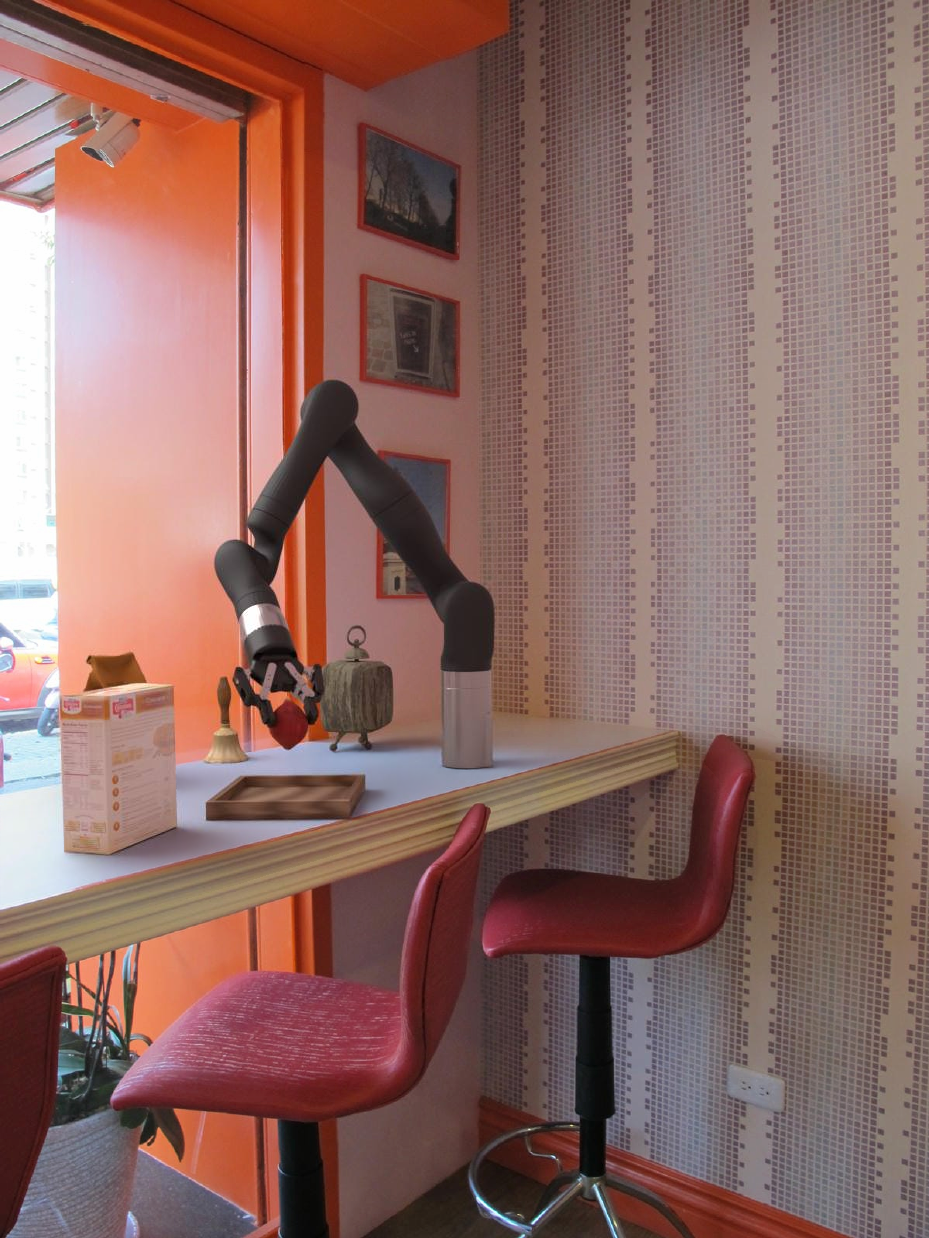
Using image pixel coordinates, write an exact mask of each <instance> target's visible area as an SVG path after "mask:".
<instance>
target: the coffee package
mask: <svg viewBox="0 0 929 1238" xmlns="http://www.w3.org/2000/svg"><path fill="white" fill-rule="evenodd" d="M85 663H86V664H87V665H90V667H91V669H92V670H91V671H90V672H89V673H88V677H87V679H86V680H87V681H86V683H85V687H84V688H83V691H82V692H86V691H92V690H98V689H104V688H111V687H117V686H123V685H129V684H136V683H147V684H148V682H147V680H146V677H145V674H144V673H143V671H142V669H141V665H140V664H139V662H138V660H137V658H136V656H135V654H134V652H133V651H130V650H129V651H126V652H124V653H121V654H119V655H106V654H104V655H102V654H96V655H95V654H88V656H87V658H86V660H85Z"/></svg>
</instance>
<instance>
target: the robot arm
mask: <svg viewBox="0 0 929 1238" xmlns="http://www.w3.org/2000/svg"><path fill="white" fill-rule="evenodd" d="M359 405H360V404H359V399H358V395H357V394H356V392H355V391H354V389H353V388H352V387H351V386H350V385H349V384H348V383H346V382H344V381H342V380H339V379H327V380H324V381H320V382H319V383H318V384H316V385H315V386H313V388H311V389H310V391H309V392H308V393H307V395H306V397H305V398H304V399H303V402H301V407H300V412H299V415H300V416H299V417H300V425H299V428H298V429H297V432H296V434H295V436H294V439H293V441H292V442H291V444H290V446H289V447H288V449H287V451H286V452H285V454H284V456H283V457H282V459H281V461H280V462H279V464H278V465H277V467H276V468H275V470H274V472H272V474H271V476H270V478H268V480H267V482H266V483H265V486H264V488H263V489H262V491H261V492H260V494H259V496H258V497H257V500H256V502H255V503H254V505H253V507H252V509H251V510H250V512H249V514H248V515H247V518H246V524H245V525H246V527H247V529H248V530H249V532H250V533H251V534H252V536H253V539H254V543H253V546H252V545H250V544H249V543H247V542H246V541H244V540H241V539H237V538H236V539H229V540H226V541H225V542H223V543H222V544H221V545H220V546H219V547H218V549H217V550H216V552H215V556H214V559H213V560H214V561H213V566H214V572H215V575H216V577H217V579H218V582H219V583H220V584H221V586H222V588H223V590H224V591H225V594H226V595H227V597H228V598H229V600H230V601H231V604H232V605H233V607H234V611H235V614H236V619H237V622H238V626H239V634H240V639H241V640H240V641H241V643H242V645H243V649H244V652H245V657H246V659H247V662H248V666H249V668H246V669H244V668H243V667H242V666H236V667H235V669H234V672H233V676H232V678H231V680H232V683H233V685H234V687H235V689H236V691H237V694H238V695H239V697H240V699H241V701H242V704H243V705H244V707H247V708H251V707H256V708H257V709H258V711H259V716H260V719H261V722H262V724H263V725H266V726H267V727H266V728H267V729H269V728H273V726H274V723H275V715H274V709H273V706H272V702H271V700H270V699H269V695H270V694H275V693H279V692H284V693H289V694H291V696H292V697H293V699H298V701H300V703H302V705H303V709H302V710H303V712H304V713H305V715H306V716H307V719H308V725H309V726H314V725H315V723H316V722H317V721H318V718H319V715H320V711H319V709H318V708H319V707H318V706H317V704H320V701H321V698H322V696H323V694H324V691H325V689H324V682H323V675H322V668H323V667H322V665H321V664H319V663H314V664H313V666H304V665H303V663H302V662H301V661H300V660H299V657H298V653H297V649H296V646H295V643H294V640H293V637H292V635H291V631H290V628H289V625H288V622H287V620H286V618H285V616H284V613H283V612H282V609H281V605H280V603H279V600H278V597H277V594H276V592H275V590H274V589H273V588H272V586H271V585H272V584H273V582H274V580H275V577H276V575H277V572H278V569H279V566H280V562H281V556H282V552H283V549H284V544H285V540H286V536H287V534H288V532H289V530H290V529H291V526H292V525H293V523H294V521H295V519H296V517H297V516H298V514H299V512H300V510H301V508H302V505H303V504H304V501H305V499H306V498H307V495H308V493H309V492H310V489H311V487H312V486H313V483H314V482H315V479H316V477H317V476H318V474H319V471H320V469H321V468H322V466H323V464H324V463H325V461H326V459H327V458H328V459H330V461H331V462H332V463H333V464H334V466H336V468H337V469H338V471H339V472H340V474H341V475H342V477H343V478H344V480H345V482H347V485H348V486H349V488H350V489H351V490H352V492H353V494H354V495H355V497H356V498H357V499H358V501H359V502H360V504H361V505H362V507H363V508H364V510H365V512H366V513H367V515H368V516H369V518H370V519H371V521H372V522H373V523H374V525H375V526H376V528H377V530H378V531H379V532H380V534H381V536H382V537H383V538H384V539H385V540H386V541H387V543H388V544H389V545H390V547H391V548H392V549H393V551H394V552H395V553H396V555H397V556H398V557H399V558H400V560H401V561H402V562H403V563H404V564H405V565H406V567H407V568H408V569H409V570H410V571H411V572H412V574H413V575H414V577H415V578H416V579H417V581H418V583H419V584H420V586H421V588H422V589H423V591H424V593H425V594H426V595H425V596H427V598H428V600H429V602H430V604H431V605H432V607H433V609H434V611H435V613H436V615H437V616H438V618H439V620H440V621H441V623H442V624H443V647H442V652H441V656H440V708H441V713H440V714H441V715H440V720H441V721H440V722H441V725H440V726H441V727H440V728H441V730H440V731H441V765H442V766H443V767H447V768H456V769H478V768H485V767H486V768H487V767H494V766H493V765H494V763H493V762H494V760H493V759H494V758H493V756H494V753H493V752H494V751H493V749H494V748H493V742H494V741H493V699H492V698H493V696H492V695H493V694H492V693H493V692H492V660H493V656H494V653H495V651H494V650H495V621H496V619H495V604H494V600H493V597H492V594H491V592H490V591H489V590H488V589H487V588H486V587H485V586H484V585H482V584H480V583H478V582H477V581H469V579H467V577H466V576H465V575H464V574H463V572H462V571H461V570H460V569H459V567H458V566H457V565H456V564H455V563H454V561H453V560H452V558H451V557H450V556H449V554H448V552H447V550H446V548H445V546H444V544H443V541H442V539H441V537H440V534H439V532H438V530H437V527H436V525H435V522H434V520H433V519H432V516H431V514H430V513H429V511H428V509H427V508H426V506H425V504H424V503H423V501H422V500H421V499H420V497H419V495H418V494H417V493H416V491H415V490H414V489H413V487H412V486H411V485H410V483H409V482H408V481H407V479H405V478H404V476H402V474H400V473H399V472H398V471H397V470H396V469H394V467H393V466H391V465H390V464H389V463H387V462H386V461H385V460H384V459H383V458H381V457H380V456H379V455H378V454H377V452H376V451H374V449H372V447H371V446H370V444H369V443H368V442H367V440H366V439H365V436H364V435H363V434H362V432H361V431H360V429H359V427H358V425H357V424H356V421H357V418H358V416H359V408H360V406H359ZM303 675H304V676H305V677H306V679H307V680H306V679H305V678H304V677H303ZM250 679H251V680H253V681H254V682H255V683H256V684H257V685H259V686H260V692H259V693H256V692H255V690H254V688H253V686H252V683H251V682H250ZM307 682H308V683H310V686H311V687H310V686H309V685H308V683H307Z"/></svg>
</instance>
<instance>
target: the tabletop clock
mask: <svg viewBox="0 0 929 1238" xmlns="http://www.w3.org/2000/svg"><path fill="white" fill-rule="evenodd" d="M356 629H357V630H361V632H362V634H363V639H362V640H361V641H360V640H359V639H358V638H355V639H354V640H353V642H352V641H350V637H349V636H350V633H351V632H352V631H353V630H356ZM366 638H367V633H366V630H365V628H364V627H363V626H362V625H360V624H359V625H356V624H355V625H351V626H350V627H349V628H348V630H347V631H346V638H345V639H346V642H347V643H348V645H350V646H351V647H352V648H349V649H347V651H346V652H345V653H344V655H343V660H335V661H332V662H328V663H326V664H325V665H324V666H323V667H321V668H322V675H323V682H324V689H325V691H324V694H323V696H322V698H321V701H320V702H319V710H320V711H319V714H320V720H321V725H322V729H323V731H325V732H327V733H328V732H329V733H338V734H337V737H336V739H335V742H333V743H331V744H330V745H329V748H328V749H329V750H330V751H331V752H336V751H337V749H338V748H339V747H338V743H339V742H340V741H341V740H342V738H343V737H344V736H345V735H347V734H359V735H360V736H359V737H358V738H357V741H358V744H361V745H362V744H363V747H364V749H365V750H371V748H372V747H373V745H372V742H370V741H369V737H368V734H371V733H373V732H376V731H379V730H381V729H383V728H385V727H386V726H388V725H389V724H390V723H392V721H393V716H394V676H393V672H392V670H393V669H392V668H391V666H389V665H387V664H386V663H384V662H383V661H380V660H367V659H370V658H371V657H370V655H369V653H368V651H367V650H366V649H365V648H362V647H360V646H362V645H363V644H364V643H365V642H366Z"/></svg>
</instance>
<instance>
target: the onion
mask: <svg viewBox="0 0 929 1238" xmlns="http://www.w3.org/2000/svg"><path fill="white" fill-rule="evenodd" d="M273 712H274V715H275V723H274V726H273V728H268V730H269V734H270V735H271V737H272V738H273V739H274V740H275V741H276V742H277V743H278V744H279V745H280V746H281V747H282V748H283V749H284V750H286V751H290V750H292V749H293V748H295V747H296V746H297V745H298V744H300V743H301V742H302V741H303V740H304V739H305V738H306V736H307V734H308V732H309V731H308V730H309V726H310V725H309V724H308V719H307V716H306V715H305V712H304V709H302V708H301V706H300V705H298V704H297V703H296V702H294V701H293V700H292V699H291V697H289V696H288V695H287V696H285V697H284V700H283V703H282V704H281V705H279V706H278V707H277V708H275V710H273Z"/></svg>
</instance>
